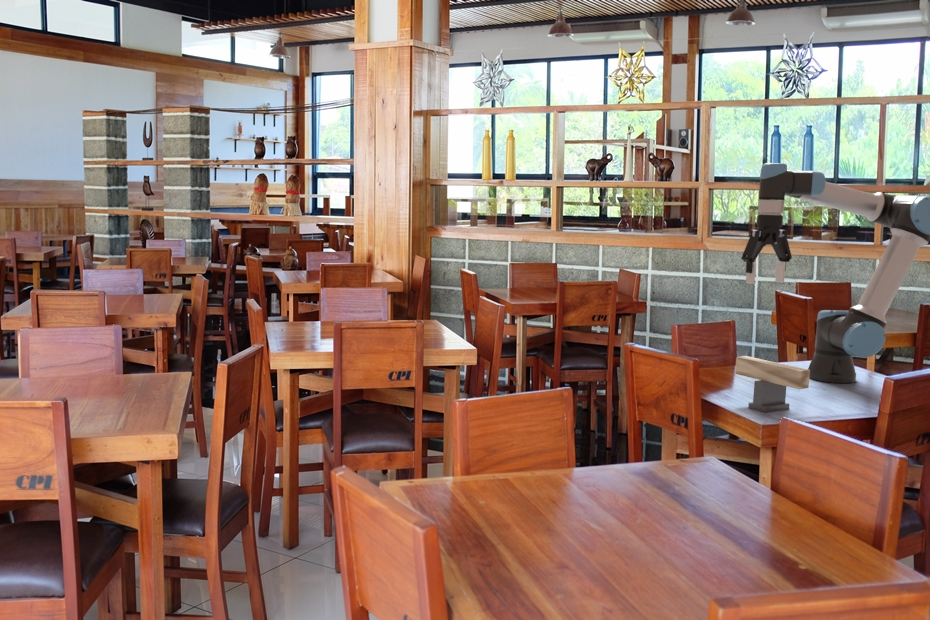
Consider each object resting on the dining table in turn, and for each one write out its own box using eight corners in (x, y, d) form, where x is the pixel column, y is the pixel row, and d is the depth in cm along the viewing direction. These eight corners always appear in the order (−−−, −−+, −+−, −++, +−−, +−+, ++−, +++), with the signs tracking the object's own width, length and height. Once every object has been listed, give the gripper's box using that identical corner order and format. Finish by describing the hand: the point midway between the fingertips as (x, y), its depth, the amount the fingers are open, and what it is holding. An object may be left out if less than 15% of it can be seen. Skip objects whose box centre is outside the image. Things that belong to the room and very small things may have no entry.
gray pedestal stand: (771, 404, 263) (774, 376, 262) (789, 408, 258) (791, 381, 257) (748, 407, 257) (750, 380, 256) (765, 412, 252) (767, 384, 251)
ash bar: (744, 372, 267) (745, 355, 266) (808, 387, 248) (810, 369, 248) (735, 373, 264) (736, 356, 264) (799, 389, 246) (800, 371, 245)
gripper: (787, 213, 288) (781, 280, 291) (732, 213, 275) (727, 283, 278) (807, 214, 282) (801, 282, 285) (752, 214, 268) (747, 285, 271)
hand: (765, 283), depth 281 cm, fingers open, 13 cm apart
